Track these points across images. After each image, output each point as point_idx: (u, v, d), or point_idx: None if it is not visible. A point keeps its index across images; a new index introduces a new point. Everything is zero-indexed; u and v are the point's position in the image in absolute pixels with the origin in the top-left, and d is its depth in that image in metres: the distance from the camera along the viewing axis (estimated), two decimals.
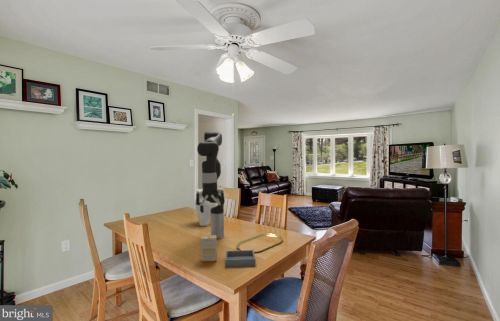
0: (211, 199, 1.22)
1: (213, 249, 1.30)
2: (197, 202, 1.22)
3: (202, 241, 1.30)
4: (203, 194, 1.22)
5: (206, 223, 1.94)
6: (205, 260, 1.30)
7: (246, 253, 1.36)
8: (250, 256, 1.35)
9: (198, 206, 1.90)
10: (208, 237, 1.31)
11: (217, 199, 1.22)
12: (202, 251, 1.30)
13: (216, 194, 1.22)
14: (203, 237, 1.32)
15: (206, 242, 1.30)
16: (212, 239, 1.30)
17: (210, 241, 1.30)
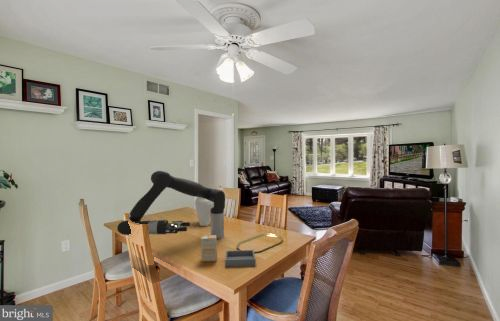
0: None
1: (213, 249, 1.30)
2: None
3: (202, 241, 1.30)
4: None
5: (206, 223, 1.94)
6: (205, 260, 1.30)
7: (246, 253, 1.36)
8: (250, 256, 1.35)
9: (198, 206, 1.90)
10: (208, 237, 1.31)
11: (174, 230, 1.27)
12: (202, 251, 1.30)
13: None
14: (203, 237, 1.32)
15: (206, 242, 1.30)
16: (212, 239, 1.30)
17: (210, 241, 1.30)
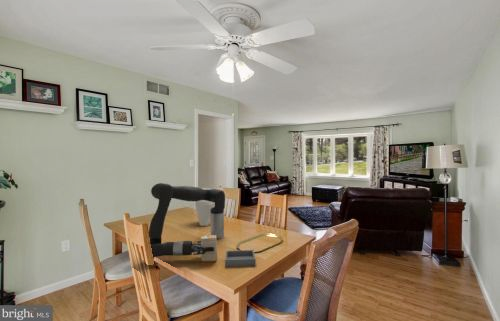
0: None
1: None
2: None
3: (202, 241, 1.30)
4: None
5: (206, 223, 1.94)
6: (205, 260, 1.30)
7: (246, 253, 1.36)
8: (250, 256, 1.35)
9: (198, 206, 1.90)
10: (208, 237, 1.31)
11: (200, 251, 1.29)
12: None
13: None
14: (203, 237, 1.31)
15: (206, 242, 1.30)
16: (212, 239, 1.30)
17: (210, 241, 1.30)
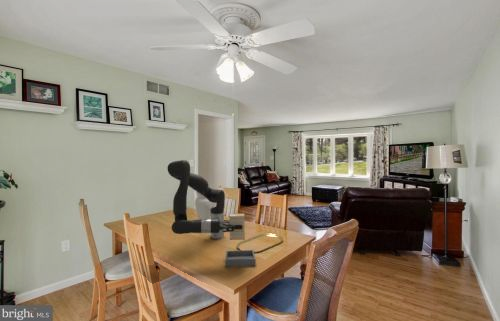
0: None
1: (242, 227, 1.28)
2: None
3: (230, 219, 1.28)
4: None
5: None
6: (233, 238, 1.28)
7: (246, 253, 1.36)
8: (250, 256, 1.35)
9: (198, 206, 1.90)
10: (236, 215, 1.29)
11: (229, 228, 1.27)
12: None
13: None
14: (231, 215, 1.29)
15: (234, 220, 1.28)
16: (240, 217, 1.28)
17: (239, 218, 1.28)
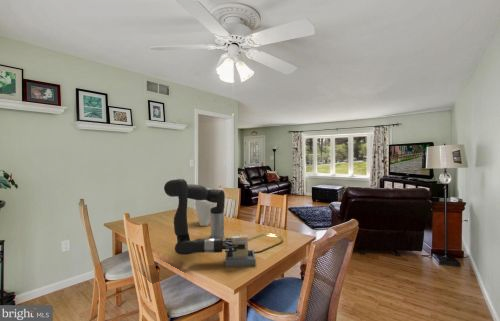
0: None
1: (245, 248, 1.29)
2: None
3: (233, 241, 1.28)
4: None
5: (206, 223, 1.94)
6: None
7: None
8: (250, 256, 1.35)
9: (198, 206, 1.90)
10: (239, 236, 1.30)
11: (231, 248, 1.27)
12: None
13: None
14: (234, 236, 1.30)
15: (238, 241, 1.28)
16: (244, 238, 1.28)
17: (242, 240, 1.28)
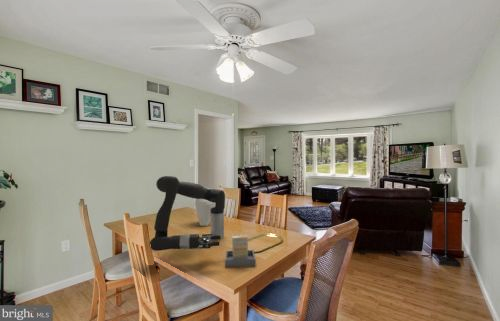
0: None
1: (245, 248, 1.29)
2: None
3: (233, 241, 1.28)
4: None
5: (206, 223, 1.94)
6: None
7: None
8: (250, 256, 1.35)
9: (198, 206, 1.90)
10: (239, 236, 1.30)
11: (206, 244, 1.26)
12: (233, 251, 1.28)
13: None
14: (234, 236, 1.30)
15: (238, 241, 1.28)
16: (244, 238, 1.29)
17: (242, 240, 1.28)
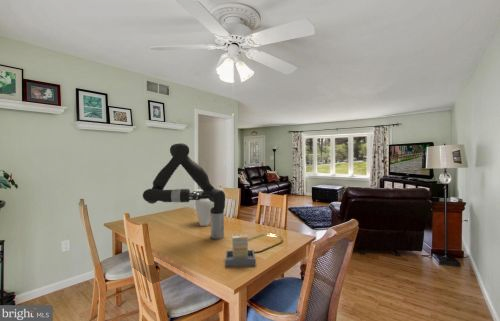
0: None
1: (245, 248, 1.29)
2: None
3: (233, 241, 1.28)
4: None
5: (206, 223, 1.94)
6: None
7: None
8: (250, 256, 1.35)
9: (198, 206, 1.90)
10: (239, 236, 1.30)
11: (196, 197, 1.33)
12: (233, 251, 1.28)
13: None
14: (234, 236, 1.30)
15: (238, 241, 1.28)
16: (244, 238, 1.29)
17: (242, 240, 1.28)
